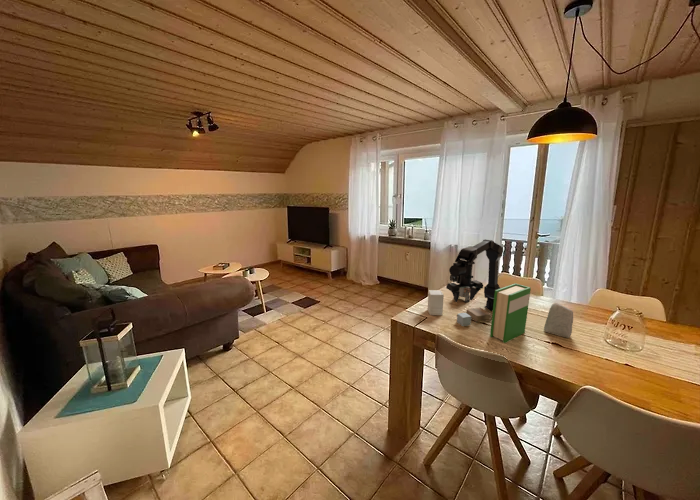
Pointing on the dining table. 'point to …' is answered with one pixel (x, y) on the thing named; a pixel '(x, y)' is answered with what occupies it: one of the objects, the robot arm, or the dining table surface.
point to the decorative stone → (559, 321)
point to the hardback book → (510, 312)
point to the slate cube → (463, 319)
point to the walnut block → (479, 314)
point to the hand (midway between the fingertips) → (463, 301)
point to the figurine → (465, 293)
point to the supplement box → (435, 302)
